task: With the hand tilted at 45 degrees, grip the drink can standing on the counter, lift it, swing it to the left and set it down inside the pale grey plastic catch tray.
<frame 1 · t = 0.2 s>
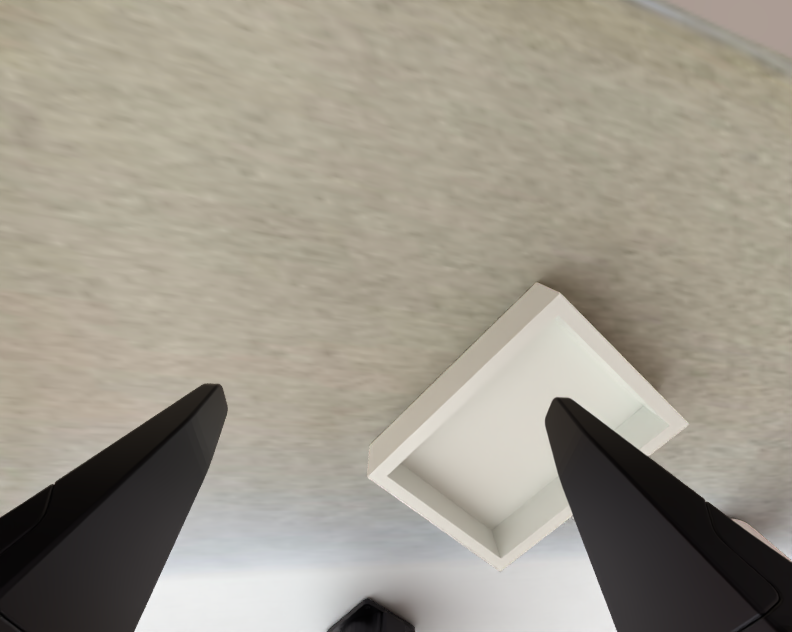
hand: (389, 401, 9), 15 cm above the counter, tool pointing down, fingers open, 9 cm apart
catch tray: (509, 422, 28), on the counter
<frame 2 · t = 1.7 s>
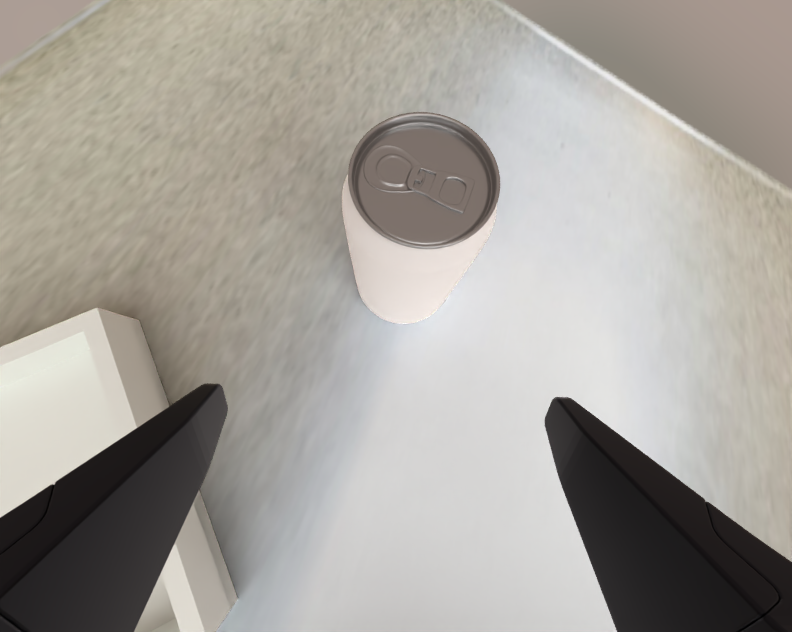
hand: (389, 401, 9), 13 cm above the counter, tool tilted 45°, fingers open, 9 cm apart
can: (402, 281, 24), on the counter
catch tray: (67, 506, 20), on the counter
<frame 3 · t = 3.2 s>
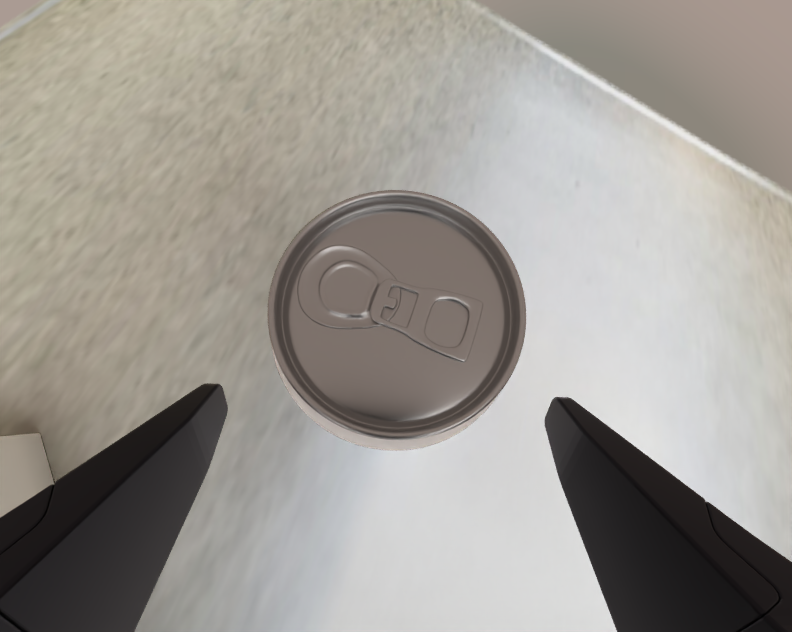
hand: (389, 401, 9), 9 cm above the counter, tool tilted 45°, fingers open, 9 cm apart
can: (385, 364, 19), on the counter
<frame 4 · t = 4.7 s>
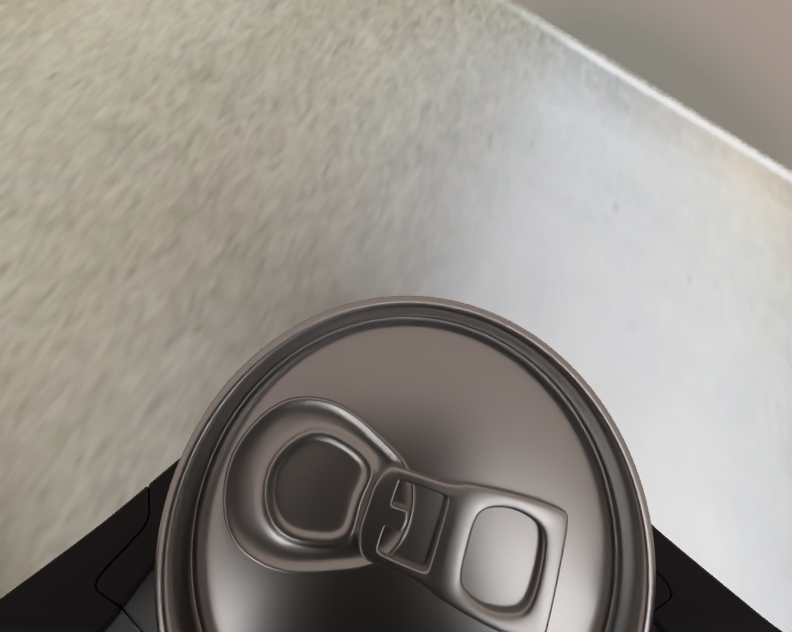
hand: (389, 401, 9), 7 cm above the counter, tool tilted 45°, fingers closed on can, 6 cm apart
can: (386, 433, 16), on the counter, touching gripper
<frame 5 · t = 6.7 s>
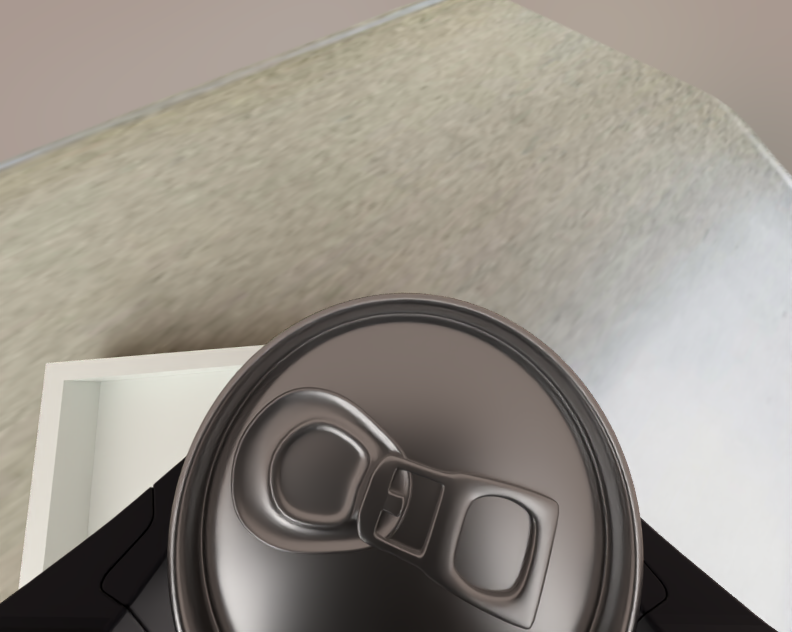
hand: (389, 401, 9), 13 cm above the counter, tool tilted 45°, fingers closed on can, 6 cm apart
can: (392, 430, 16), point 6 cm above the counter, touching gripper
catch tray: (208, 509, 20), on the counter
when the fingers open (9 cm above the counter, at t = 9.0 s): can stays where it is, resting on catch tray.
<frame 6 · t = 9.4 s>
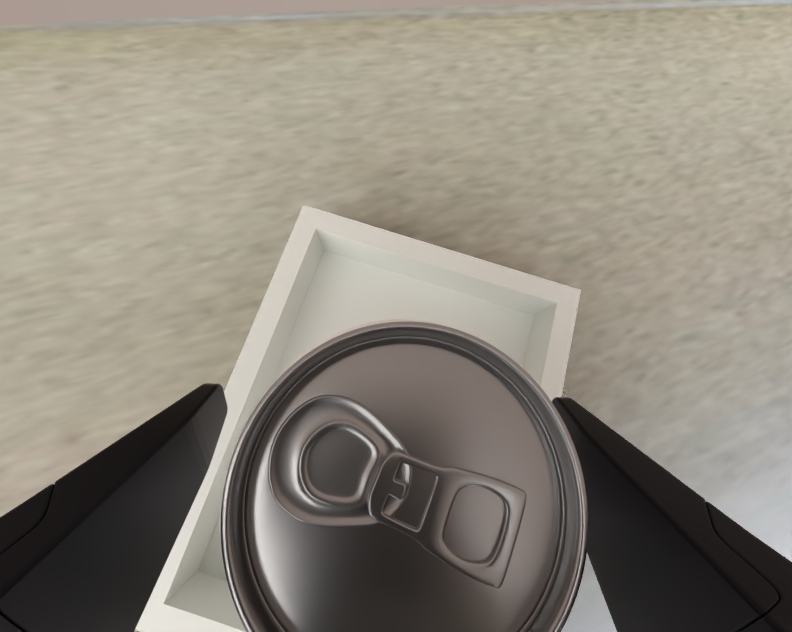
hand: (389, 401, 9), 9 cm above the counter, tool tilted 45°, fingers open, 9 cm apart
can: (385, 429, 17), point 1 cm above the counter, touching catch tray
catch tray: (383, 428, 18), on the counter
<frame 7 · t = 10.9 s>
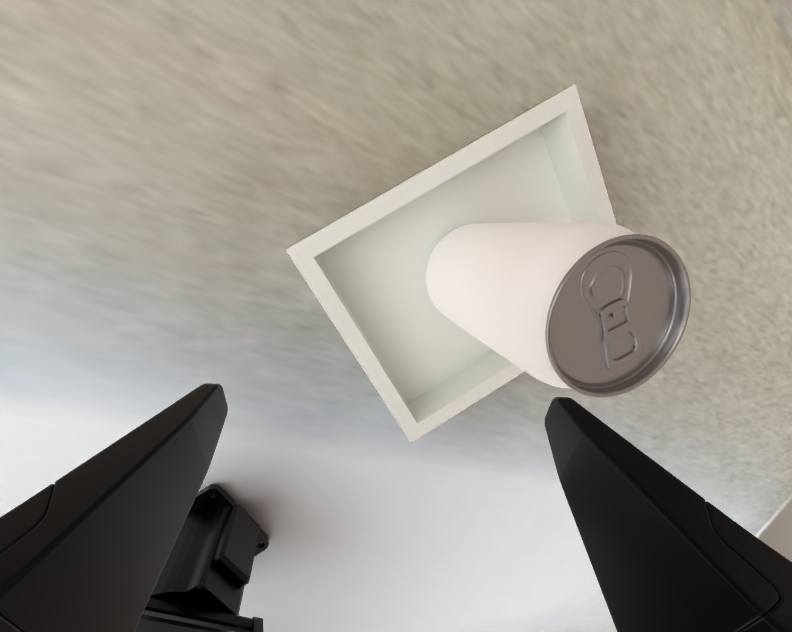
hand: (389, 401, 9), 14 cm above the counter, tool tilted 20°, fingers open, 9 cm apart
can: (468, 273, 23), point 1 cm above the counter, touching catch tray
catch tray: (462, 271, 24), on the counter
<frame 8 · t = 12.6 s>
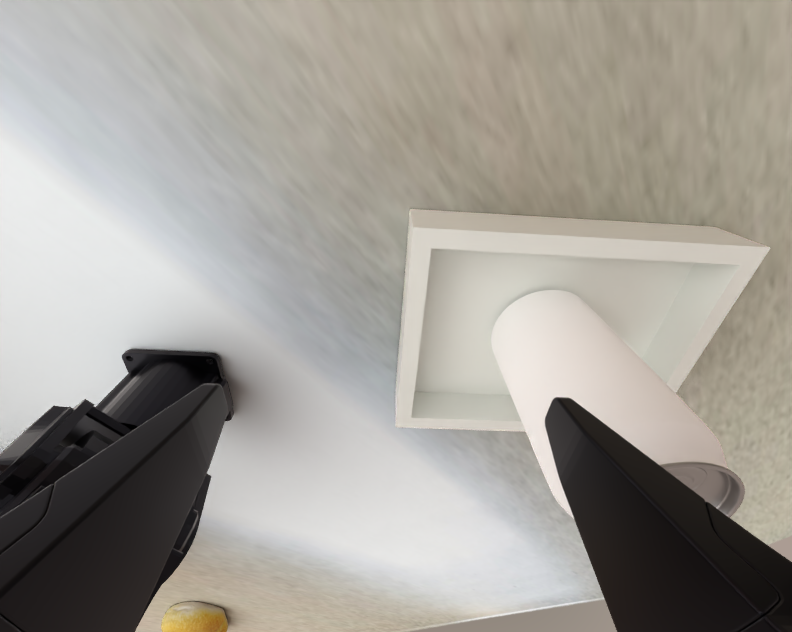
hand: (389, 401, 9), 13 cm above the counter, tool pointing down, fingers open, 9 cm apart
bread roll: (201, 610, 49), on the counter
can: (537, 328, 23), point 1 cm above the counter, touching catch tray
catch tray: (532, 320, 24), on the counter
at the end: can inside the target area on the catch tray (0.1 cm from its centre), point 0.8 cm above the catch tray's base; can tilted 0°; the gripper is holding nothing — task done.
